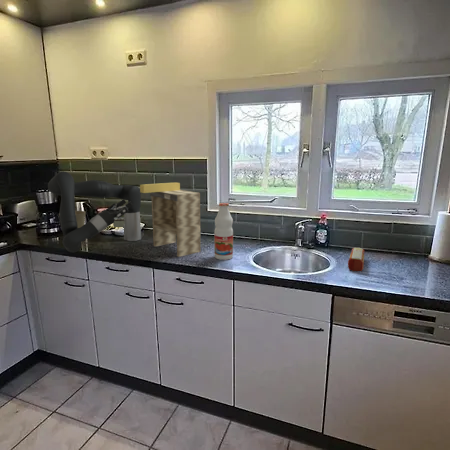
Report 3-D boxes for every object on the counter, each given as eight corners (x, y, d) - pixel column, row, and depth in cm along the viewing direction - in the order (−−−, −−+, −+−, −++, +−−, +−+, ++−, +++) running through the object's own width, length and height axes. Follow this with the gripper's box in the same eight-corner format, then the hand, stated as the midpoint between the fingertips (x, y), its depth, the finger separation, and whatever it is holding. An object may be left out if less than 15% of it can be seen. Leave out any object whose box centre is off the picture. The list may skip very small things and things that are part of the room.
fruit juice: (232, 254, 167) (232, 202, 161) (233, 260, 158) (234, 204, 152) (214, 254, 167) (214, 201, 161) (214, 260, 158) (214, 204, 152)
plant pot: (82, 233, 208) (80, 209, 204) (91, 238, 197) (89, 213, 194) (58, 237, 198) (55, 212, 195) (65, 242, 187) (63, 216, 184)
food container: (134, 231, 214) (133, 217, 212) (130, 234, 208) (129, 219, 206) (116, 231, 215) (115, 216, 213) (112, 233, 209) (111, 218, 207)
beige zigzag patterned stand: (174, 241, 191) (172, 188, 184) (200, 251, 172) (200, 192, 165) (151, 246, 181) (149, 190, 174) (177, 257, 162) (175, 195, 155)
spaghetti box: (176, 189, 179) (175, 182, 178) (179, 190, 176) (179, 182, 176) (140, 192, 165) (139, 184, 164) (144, 193, 162) (143, 185, 161)
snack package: (350, 257, 164) (352, 245, 162) (364, 259, 161) (366, 247, 160) (346, 271, 145) (348, 257, 144) (362, 273, 142) (364, 259, 141)
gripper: (103, 217, 145) (131, 197, 152) (91, 212, 155) (118, 194, 162) (112, 229, 149) (138, 209, 156) (100, 224, 159) (126, 206, 166)
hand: (128, 201), depth 159 cm, fingers open, 8 cm apart
